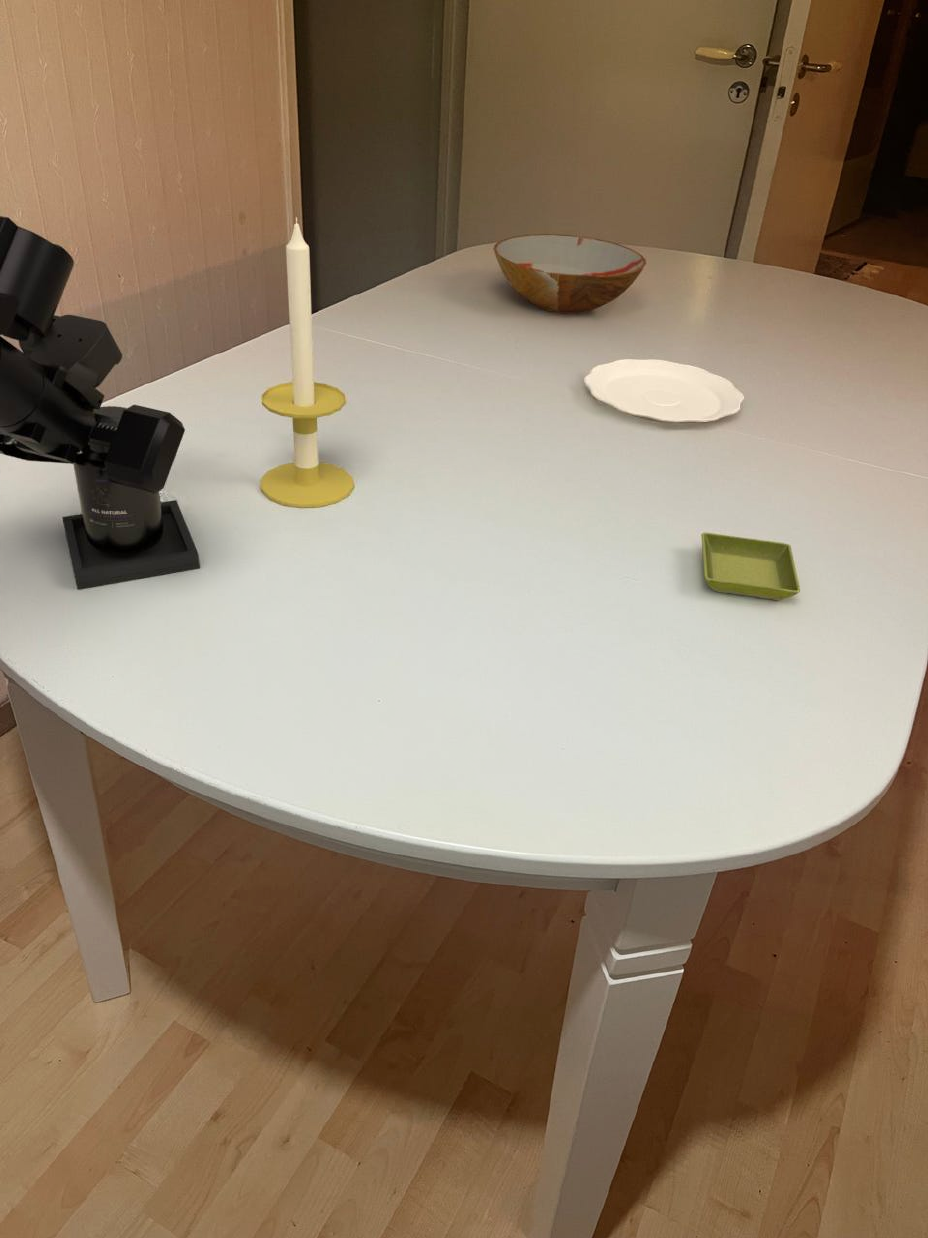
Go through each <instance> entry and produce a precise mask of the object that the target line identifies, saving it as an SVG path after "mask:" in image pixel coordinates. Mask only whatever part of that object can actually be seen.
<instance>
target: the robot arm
mask: <svg viewBox="0 0 928 1238" xmlns="http://www.w3.org/2000/svg"><path fill="white" fill-rule="evenodd" d="M74 266H75V260H74V259H73V256H72V255H71V254H70V253H69V252H68V251H67V250H66V249H65V248H64V247H63V246H61V245H60V244H56V243H53V242H51V241H50V240H48V239H46V238H44V237H43V236H42V235H39V234H37V233H35V232H33V231H32V230H29V229H27V228H24V227H22V226H19V225H17V223H15V222H14V221H13V220H12V219H11V218H10V217H9V216H3V215H0V454H1V455H5V456H8V457H12V458H15V459H19V460H23V461H27V462H40V463H54V464H55V463H56V464H69V465H73V463H74V461H75V458H76V455H77V454H82V453H83V451H84V448H85V446H86V444H87V443H88V442H90V443H94V444H98V445H102V446H106V447H110V448H109V450H108V453H107V456H106V458H105V461H104V462H105V468H106V473H107V477H109V478H110V480H109V482H112V483H116V484H120V485H124V486H128V487H131V488H136V489H140V490H144V491H148V492H152V493H157V492H158V491H159V492H160V491H162V490H163V489H164V488H165V487H166V484H167V480H168V478H169V475H170V472H171V470H172V467H173V464H174V462H175V459H176V456H177V453H178V451H179V448H180V445H181V442H182V440H183V437H184V435H185V431H186V429H185V427H184V424H183V422H182V421H181V420H179V419H178V418H177V417H176V416H175V415H174V414H172V413H171V412H169V411H165V410H161V409H155V408H151V407H148V406H142V405H139V404H132V405H130V406H129V407H126V408H127V409H125V410H124V411H123V414H122V415H121V416H120V417H119V418H113V417H109V416H104V415H100V414H96V413H93V411H94V409H100V407H102V404H103V401H104V399H105V396H106V395H105V394H103V393H102V392H101V391H100V390H98V389H97V388H98V387H99V386H100V385H102V383H103V382H104V381H105V379H106V378H107V376H108V375H109V374H110V372H111V371H112V370H113V368H114V367H115V366H116V365H119V364H120V363H121V361H122V359H123V353H122V351H121V349H120V348H119V345H118V344H117V342H116V340H115V338H114V336H113V334H112V332H111V331H110V329H109V327H108V325H107V323H106V322H105V321H102V320H98V319H94V318H89V317H85V316H79V315H75V314H64V315H61V316H60V315H55V314H56V312H57V309H58V306H59V305H60V301H61V298H62V296H63V294H64V291H65V289H66V286H67V285H68V284H67V283H68V281H69V279H70V276H71V273H72V271H73V269H74ZM3 336H4V337H6V338H9V339H12V340H16V341H18V345H19V348H20V349H19V348H17V347H16V346H14V344H12V343H10V341H8V340H7V339H5V338H4V337H3ZM97 426H98V427H97ZM101 427H102V428H101ZM107 429H108V430H107ZM111 430H112V431H111Z"/></svg>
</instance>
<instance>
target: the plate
mask: <svg viewBox="0 0 928 1238" xmlns="http://www.w3.org/2000/svg"><path fill="white" fill-rule="evenodd" d="M583 383H584V385H585V386H586V387H587V388H588V389H589V391H590V395H591V396H592V397H594V398H595V399H596V400H597V401H599V402H601V403H603V404H607V405H609V406H611V407H612V408H615V409H616V410H617V411H620V412H622V413H625V414H627V415H630V416H631V417H632V416H633V417H635V418H640V419H643V420H647V421H652V422H660V423H665V424H666V423H667V424H693V423H706V422H714V421H717V420H720V419H721V418H723V417H727V416H732V415H735V414H737V413H738V412H739V411H740V410H741V403H743V401H745V396H744V394H743V393H742V392H741V391H740V390H738V388H736V387H735V385H734V384H733V383H732V382H731V381H730V380H729V379H727V378H725V377H724V376H720V375H717V374H714V373H712V372H710V371H707V370H705V369H703V368H701V367H698V366H694V365H690V364H683V363H676V362H674V361H673V362H672V361H669V360H664V359H663V360H662V359H653V358H651V359H631V358H629V359H628V358H627V359H617V360H614V361H612V362H609V363H604V364H598V365H596V366H593V367H591V369H590V372H589V374H587V375H586V376H585V377H584V378H583Z"/></svg>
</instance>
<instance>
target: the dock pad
mask: <svg viewBox="0 0 928 1238" xmlns="http://www.w3.org/2000/svg"><path fill="white" fill-rule="evenodd" d="M160 502H161V510H162V519H163V536H162V538H161V539H160V541H159V542H158V543H157V544H156V545H154V546H153V547H151V548H149V549H147V550H144V551H141V552H138V553H133V554H122V555H118V554H109V553H105V552H102V551H99V550H97V549H96V548H94V547H93V546H92V545H91V544H90V543H89V542H88V540H87V537H86V532H85V527H84V521H83V516H82V513H78V514H73V515H72V514H71V515H65V516H62V517H61V519H62V522H63V528H64V534H65V538H66V542H67V547H68V550H69V556H70V561H71V566H72V572H73V575H74V580H75V584H76V589H77V590H83V589H89V588H95V587H101V586H106V585H113V584H117V583H118V584H119V583H123V582H128V581H129V582H130V581H134V580H139V579H140V580H141V579H144V578H152V577H157V576H163V575H168V574H169V575H170V574H175V573H179V572H185V571H190V570H197V569H201V565H200V555H199V552H198V549H197V547H196V545H195V542H194V540H193V538H192V535H191V532H190V530H189V528H188V525H187V522H186V520H185V518H184V515H183V513H182V511H181V508H180V506H179V503H178V501H177V500H176V499H174V500H173V499H172V500H166V501H160Z"/></svg>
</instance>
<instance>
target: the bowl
mask: <svg viewBox="0 0 928 1238" xmlns="http://www.w3.org/2000/svg"><path fill="white" fill-rule="evenodd" d="M493 252H494V256H495V259H496V261H497V263H498V266H499V268H500V271H501V273H502V274H503V275H504V277H505V279H506V280H507V282H509V284H510V285H511V286H512V288H513V289H514V290H515V291H516V292H518V293H519V294H520V295H521V296H523V298H525V299H526V300H528V301H529V302H530V303H532V304H533V305H534V306H536V307H537V308H540V309H543V310H546V311H551V312H555V313H562V314H582V313H583V314H584V313H589V312H592V311H594V310H596V309H598V308H600V307H602V306H604V305H606V304H608V303H610V302H612V301H614V300H616V299H617V298H619V297H620V296H621V295H622V294H624V293H625V292H626V291H627V290H628V289H629V288H631V286H632V285H633V284H634V282H636V280H637V278H639V276H640V274H641V273H642V271H643V270H644V268H645V267H646V265H647V259H646V258H645V257H644V256H643V255H642V254H641V253H640V252H637V251H636V250H634V249H632V248H630V247H628V246H624V245H621V244H619V243H616V242H612V241H609V240H604V239H599V238H594V237H587V236H582V235H574V234H573V235H571V234H558V233H535V234H534V233H533V234H524V235H523V234H522V235H516V236H511V237H508V238H505V239H502V240H499V241H498V242H496V244H494V246H493Z"/></svg>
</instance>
